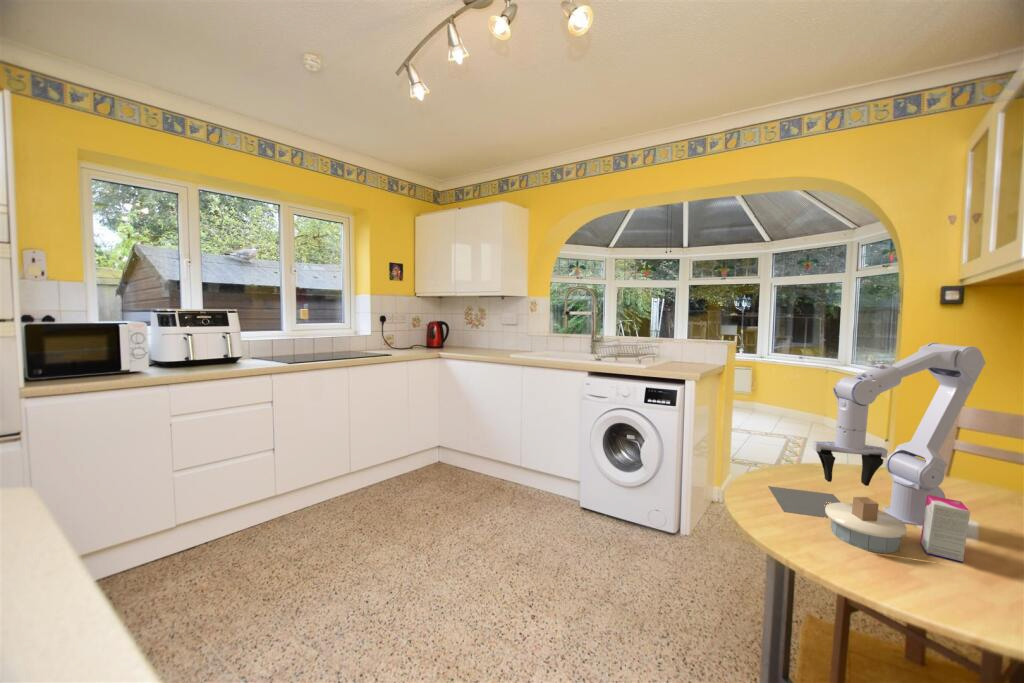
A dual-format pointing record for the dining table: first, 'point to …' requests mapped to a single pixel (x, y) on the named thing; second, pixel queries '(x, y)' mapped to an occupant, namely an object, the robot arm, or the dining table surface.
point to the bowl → (865, 540)
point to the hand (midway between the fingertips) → (846, 482)
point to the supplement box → (945, 528)
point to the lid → (865, 518)
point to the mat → (803, 501)
